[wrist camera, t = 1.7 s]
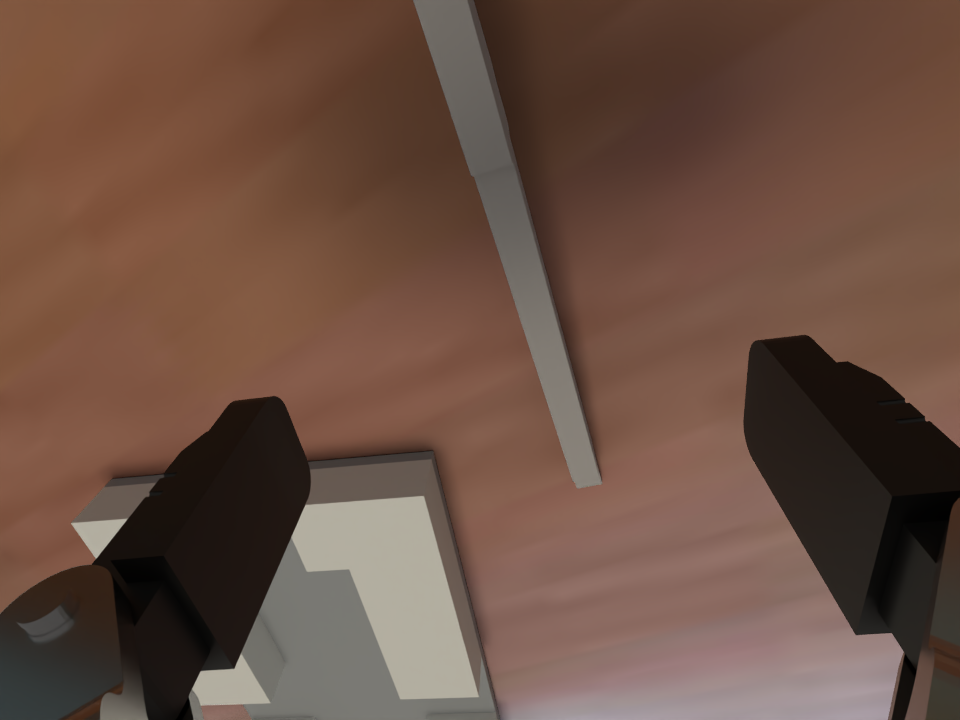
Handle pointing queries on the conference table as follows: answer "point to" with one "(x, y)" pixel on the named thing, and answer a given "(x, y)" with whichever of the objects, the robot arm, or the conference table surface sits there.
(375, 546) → the case insert
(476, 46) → the caliper
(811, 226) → the conference table surface
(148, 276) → the conference table surface
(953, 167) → the conference table surface
